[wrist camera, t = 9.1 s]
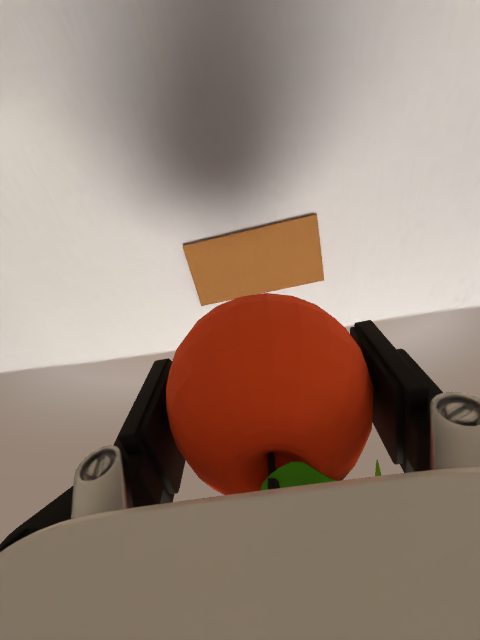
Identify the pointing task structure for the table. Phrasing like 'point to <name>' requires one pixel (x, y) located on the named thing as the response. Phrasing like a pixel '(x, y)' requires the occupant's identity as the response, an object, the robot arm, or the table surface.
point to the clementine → (269, 396)
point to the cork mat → (256, 260)
